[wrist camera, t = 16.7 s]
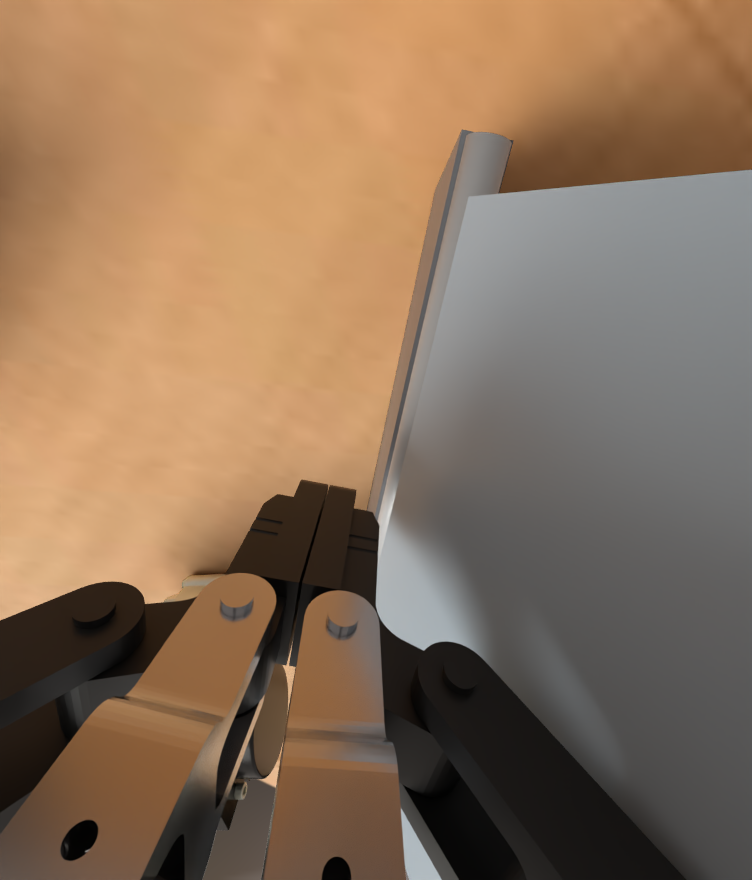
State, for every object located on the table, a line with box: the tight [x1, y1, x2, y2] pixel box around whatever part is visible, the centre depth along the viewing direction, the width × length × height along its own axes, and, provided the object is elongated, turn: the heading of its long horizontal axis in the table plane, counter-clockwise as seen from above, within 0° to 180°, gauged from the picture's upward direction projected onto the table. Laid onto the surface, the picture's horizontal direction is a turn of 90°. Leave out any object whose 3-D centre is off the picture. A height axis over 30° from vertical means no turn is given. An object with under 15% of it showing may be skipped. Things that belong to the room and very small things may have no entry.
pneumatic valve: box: [163, 574, 288, 830], centre depth 20 cm, size 6×12×12 cm, turn 97°
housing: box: [367, 130, 513, 568], centre depth 16 cm, size 19×14×8 cm
